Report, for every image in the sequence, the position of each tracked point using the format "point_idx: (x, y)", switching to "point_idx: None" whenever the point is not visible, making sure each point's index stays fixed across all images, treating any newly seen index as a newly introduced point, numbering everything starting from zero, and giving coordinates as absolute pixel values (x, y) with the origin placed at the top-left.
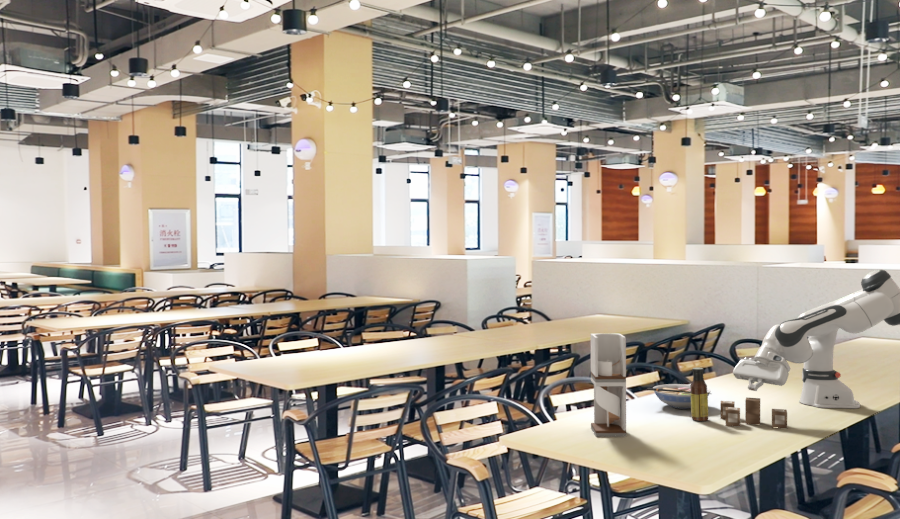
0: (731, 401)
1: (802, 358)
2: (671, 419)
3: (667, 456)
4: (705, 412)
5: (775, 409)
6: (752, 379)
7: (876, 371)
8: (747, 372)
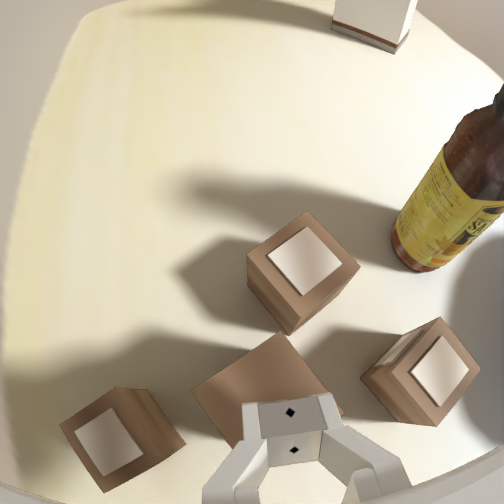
0: (439, 401)
1: None
2: None
3: (185, 14)
4: (404, 218)
5: (129, 442)
6: (352, 487)
7: None
8: (487, 499)
